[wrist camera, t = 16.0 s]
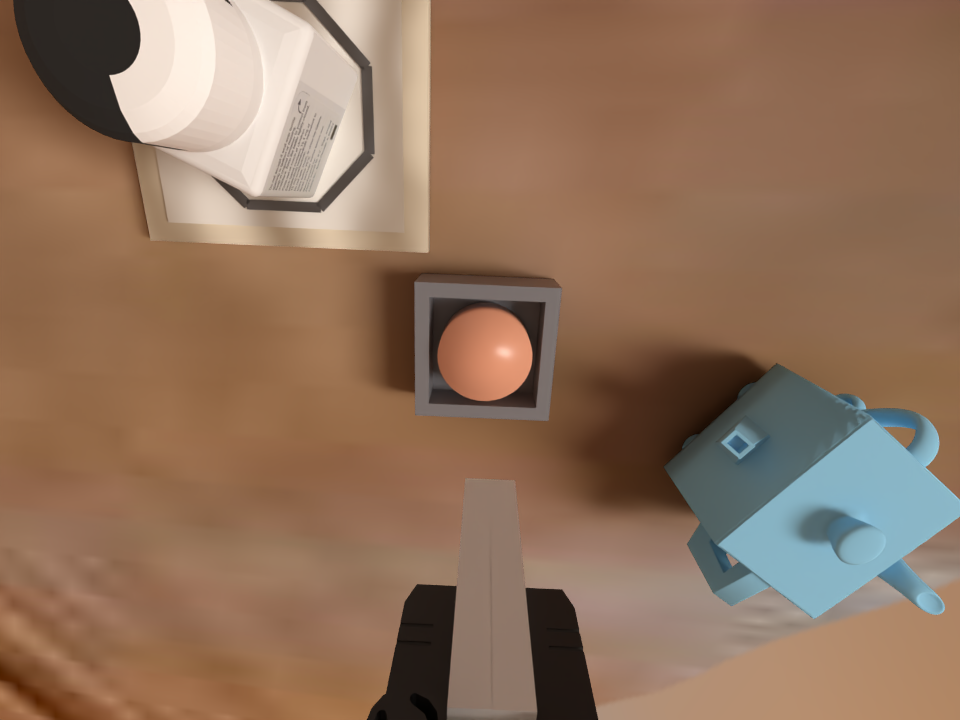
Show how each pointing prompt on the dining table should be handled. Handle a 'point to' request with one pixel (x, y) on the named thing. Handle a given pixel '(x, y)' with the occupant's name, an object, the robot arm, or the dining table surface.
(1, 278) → the dining table surface
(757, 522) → the teapot
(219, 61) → the container
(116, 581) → the dining table surface
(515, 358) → the button
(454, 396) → the button box
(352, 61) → the drawing board
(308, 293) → the dining table surface
